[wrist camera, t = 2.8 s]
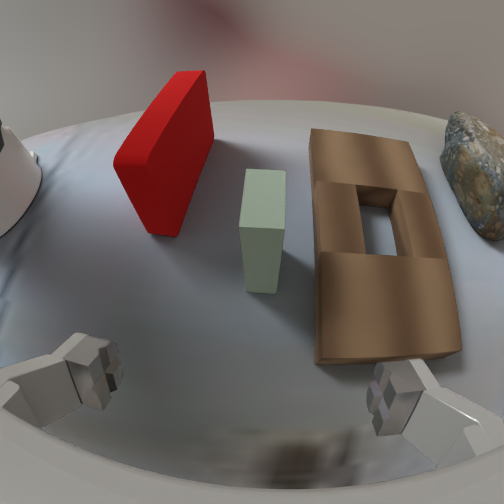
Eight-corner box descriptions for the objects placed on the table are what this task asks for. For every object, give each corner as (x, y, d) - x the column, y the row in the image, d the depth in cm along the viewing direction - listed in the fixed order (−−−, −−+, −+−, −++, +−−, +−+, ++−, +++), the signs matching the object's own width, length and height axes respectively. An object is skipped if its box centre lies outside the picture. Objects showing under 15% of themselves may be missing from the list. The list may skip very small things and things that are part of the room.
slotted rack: (314, 364, 21) (322, 357, 19) (308, 148, 33) (311, 128, 30) (443, 357, 21) (461, 350, 18) (400, 159, 32) (408, 142, 30)
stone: (462, 246, 26) (501, 201, 19) (412, 134, 35) (429, 90, 28) (528, 245, 26) (561, 211, 19) (478, 147, 35) (497, 112, 28)
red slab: (192, 137, 35) (178, 69, 26) (214, 138, 34) (204, 67, 26) (149, 235, 28) (110, 161, 19) (176, 239, 27) (144, 162, 19)
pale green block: (246, 291, 24) (238, 226, 16) (250, 245, 27) (246, 168, 18) (276, 293, 24) (284, 229, 16) (278, 246, 26) (285, 170, 18)
